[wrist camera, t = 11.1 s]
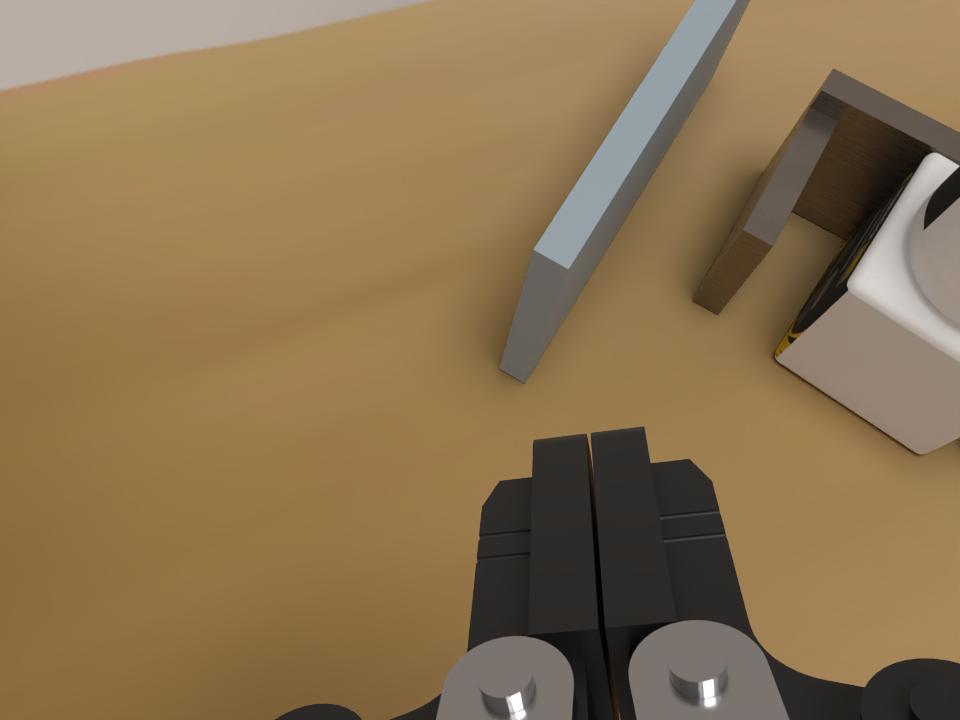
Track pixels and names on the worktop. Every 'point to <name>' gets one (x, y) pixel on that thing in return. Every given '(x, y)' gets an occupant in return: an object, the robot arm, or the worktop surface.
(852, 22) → the worktop surface
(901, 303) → the medicine bottle
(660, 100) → the door board
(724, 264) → the keeper
